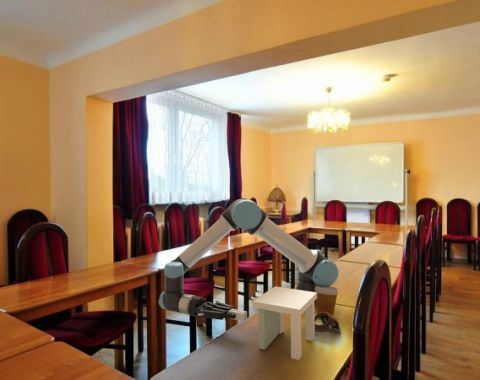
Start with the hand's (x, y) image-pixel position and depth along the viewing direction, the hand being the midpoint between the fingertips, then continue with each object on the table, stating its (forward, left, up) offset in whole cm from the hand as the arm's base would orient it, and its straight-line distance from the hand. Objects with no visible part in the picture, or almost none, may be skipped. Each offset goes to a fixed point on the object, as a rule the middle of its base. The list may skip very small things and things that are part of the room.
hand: (245, 316), depth 117 cm
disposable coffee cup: (-29, +21, -7) cm, 37 cm away
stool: (-1, +15, -7) cm, 17 cm away
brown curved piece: (-17, +25, -7) cm, 31 cm away
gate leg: (0, +9, -7) cm, 12 cm away
